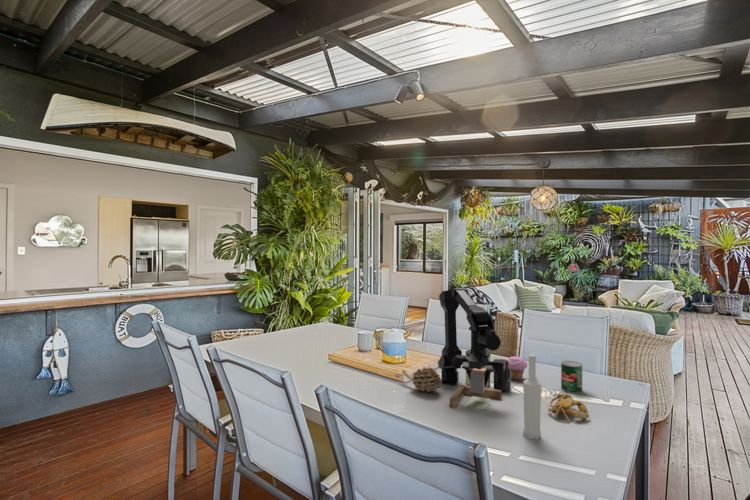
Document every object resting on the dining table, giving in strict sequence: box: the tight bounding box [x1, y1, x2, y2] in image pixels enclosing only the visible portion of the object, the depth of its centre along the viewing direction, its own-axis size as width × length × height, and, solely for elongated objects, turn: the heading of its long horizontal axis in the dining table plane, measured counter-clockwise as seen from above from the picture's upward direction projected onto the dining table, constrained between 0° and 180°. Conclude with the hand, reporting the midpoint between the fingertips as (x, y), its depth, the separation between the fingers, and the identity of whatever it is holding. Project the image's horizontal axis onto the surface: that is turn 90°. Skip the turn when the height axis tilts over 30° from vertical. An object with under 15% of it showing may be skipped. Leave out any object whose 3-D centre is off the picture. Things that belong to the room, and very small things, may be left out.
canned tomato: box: [560, 360, 583, 395], centre depth 167 cm, size 8×8×11 cm
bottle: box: [522, 354, 542, 440], centre depth 127 cm, size 5×5×25 cm
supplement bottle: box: [493, 358, 512, 393], centre depth 168 cm, size 7×7×12 cm
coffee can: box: [465, 349, 491, 389], centre depth 173 cm, size 10×10×14 cm
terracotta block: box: [470, 368, 487, 394], centre depth 153 cm, size 8×4×7 cm, turn 155°
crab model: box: [547, 392, 590, 423], centre depth 143 cm, size 16×13×6 cm
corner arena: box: [449, 384, 502, 411], centre depth 154 cm, size 16×17×3 cm
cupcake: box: [507, 355, 528, 381], centre depth 182 cm, size 9×9×10 cm
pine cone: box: [401, 366, 443, 393], centre depth 168 cm, size 22×10×10 cm, turn 44°
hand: (478, 385), depth 154 cm, fingers closed on terracotta block, 4 cm apart
